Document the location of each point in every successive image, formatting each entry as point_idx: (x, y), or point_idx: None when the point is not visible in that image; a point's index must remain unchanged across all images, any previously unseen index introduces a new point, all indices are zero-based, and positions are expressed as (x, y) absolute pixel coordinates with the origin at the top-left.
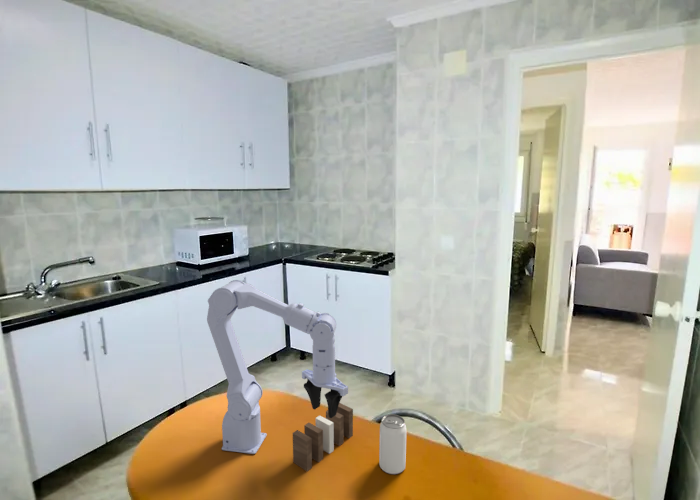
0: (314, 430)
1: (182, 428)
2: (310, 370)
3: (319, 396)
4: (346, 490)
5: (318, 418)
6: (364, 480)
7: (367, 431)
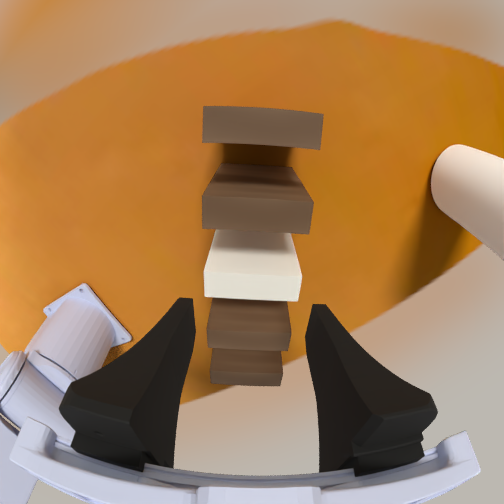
0: (264, 349)
1: (10, 337)
2: (40, 477)
3: (176, 342)
4: (386, 303)
5: (218, 291)
6: (413, 260)
7: (329, 62)
